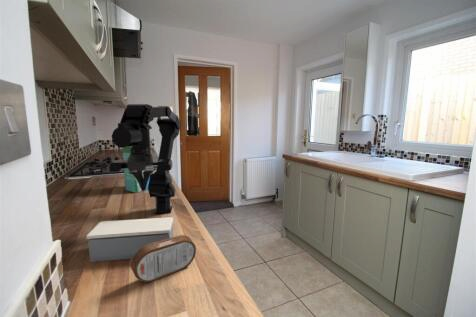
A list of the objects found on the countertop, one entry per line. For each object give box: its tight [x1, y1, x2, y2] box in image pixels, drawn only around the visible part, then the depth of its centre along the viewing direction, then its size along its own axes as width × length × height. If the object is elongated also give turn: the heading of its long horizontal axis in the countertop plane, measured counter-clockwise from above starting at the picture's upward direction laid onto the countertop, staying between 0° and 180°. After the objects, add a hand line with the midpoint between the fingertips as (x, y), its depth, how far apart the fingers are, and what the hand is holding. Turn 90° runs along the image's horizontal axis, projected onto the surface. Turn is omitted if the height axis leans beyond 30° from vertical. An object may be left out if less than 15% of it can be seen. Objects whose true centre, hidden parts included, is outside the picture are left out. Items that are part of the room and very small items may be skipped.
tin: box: [130, 234, 197, 283], centre depth 55 cm, size 15×3×8 cm, turn 126°
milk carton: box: [121, 146, 150, 194], centre depth 119 cm, size 9×9×25 cm
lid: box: [86, 216, 174, 240], centre depth 65 cm, size 9×20×1 cm, turn 100°
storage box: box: [87, 222, 174, 263], centre depth 65 cm, size 9×20×6 cm, turn 100°
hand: (143, 190), depth 77 cm, fingers closed
